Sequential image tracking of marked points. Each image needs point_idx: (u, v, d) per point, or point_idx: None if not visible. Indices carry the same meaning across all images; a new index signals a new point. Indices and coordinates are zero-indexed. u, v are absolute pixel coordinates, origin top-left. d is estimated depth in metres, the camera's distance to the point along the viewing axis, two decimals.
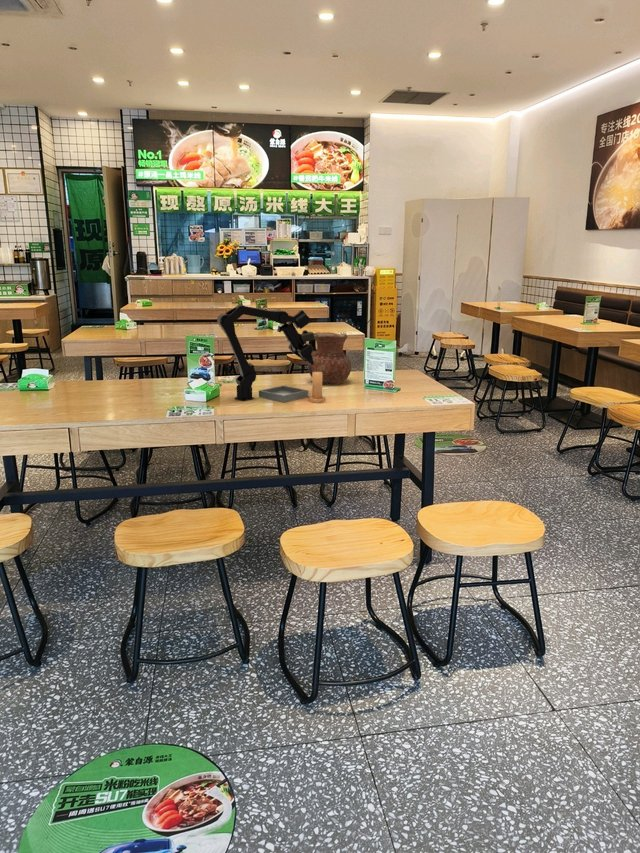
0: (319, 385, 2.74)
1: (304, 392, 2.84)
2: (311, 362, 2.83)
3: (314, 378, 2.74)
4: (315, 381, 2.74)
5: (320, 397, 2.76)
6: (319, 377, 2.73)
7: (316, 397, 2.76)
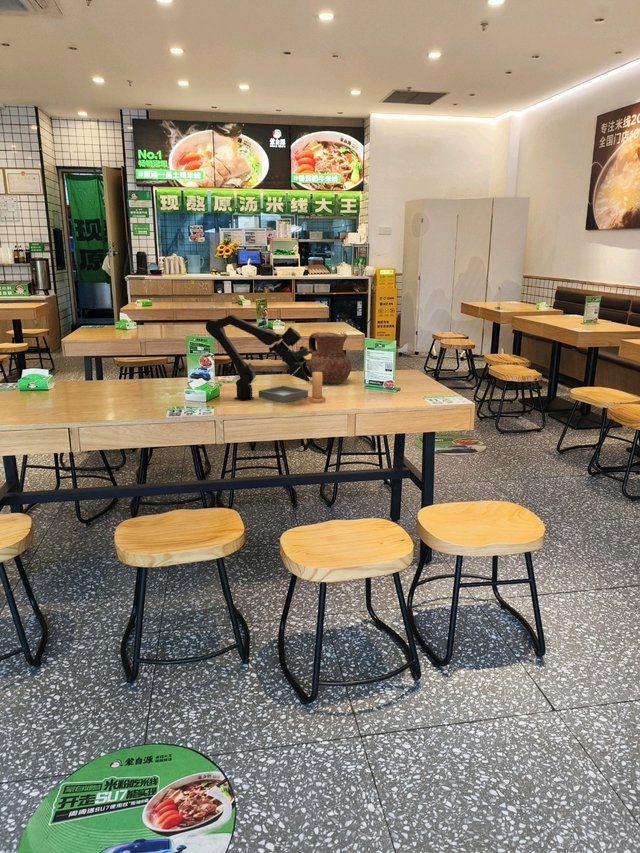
0: (319, 385, 2.74)
1: (304, 392, 2.84)
2: (306, 379, 2.71)
3: (314, 378, 2.74)
4: (315, 381, 2.74)
5: (320, 397, 2.76)
6: (319, 377, 2.73)
7: (316, 397, 2.76)
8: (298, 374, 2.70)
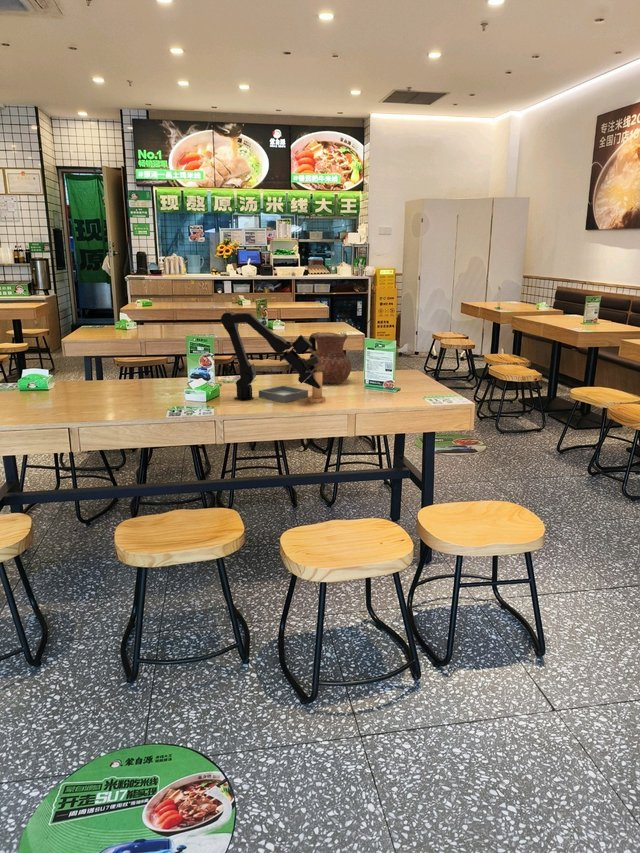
0: None
1: (304, 392, 2.84)
2: (316, 386, 2.73)
3: None
4: None
5: (320, 397, 2.76)
6: (319, 377, 2.73)
7: (316, 397, 2.76)
8: (309, 381, 2.72)
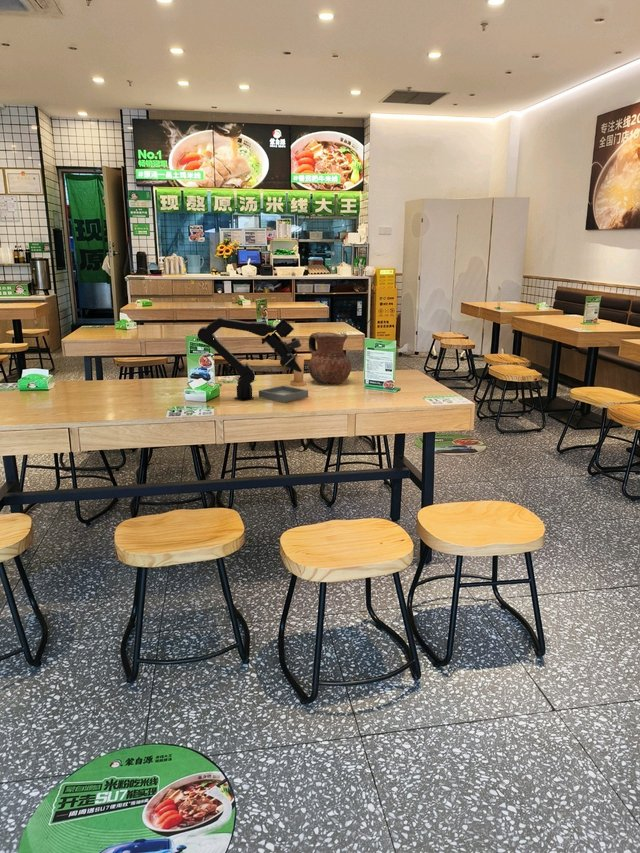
0: (301, 368, 2.77)
1: (304, 392, 2.84)
2: (298, 369, 2.76)
3: (296, 362, 2.76)
4: None
5: (301, 381, 2.78)
6: (300, 361, 2.76)
7: (297, 381, 2.78)
8: (290, 364, 2.74)
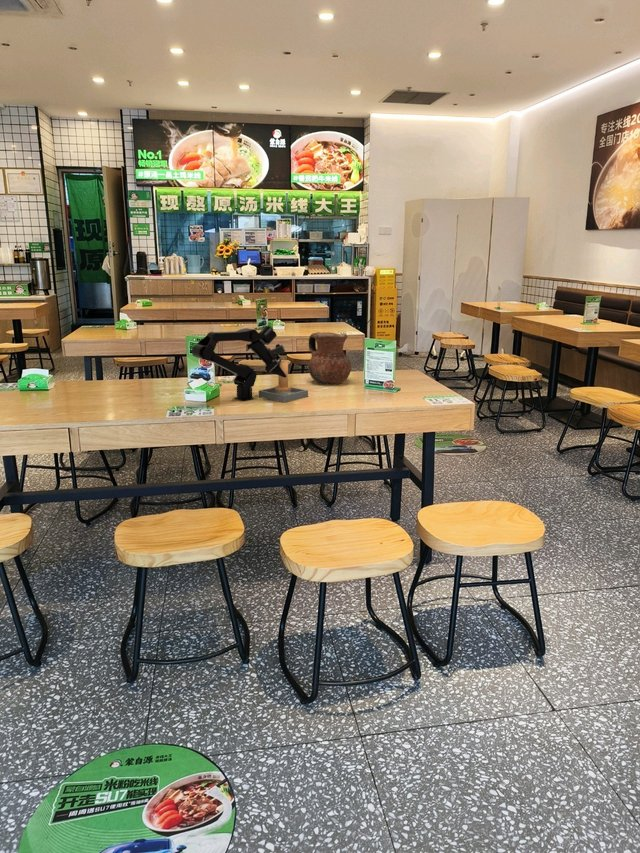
0: None
1: (304, 392, 2.84)
2: (283, 375, 2.80)
3: None
4: None
5: (286, 386, 2.83)
6: (285, 366, 2.80)
7: (282, 386, 2.83)
8: (275, 370, 2.79)
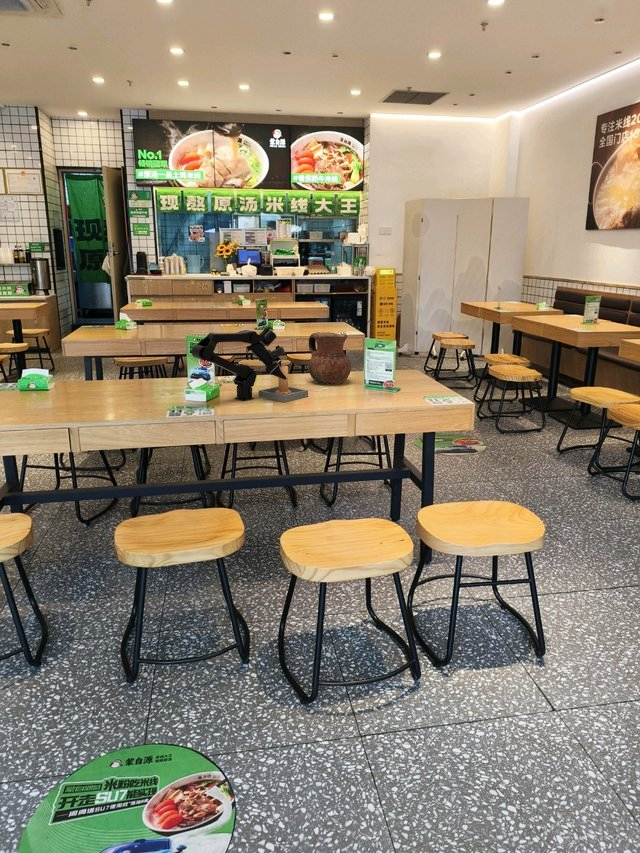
0: None
1: (304, 392, 2.84)
2: (283, 377, 2.79)
3: None
4: None
5: (286, 390, 2.84)
6: (285, 371, 2.81)
7: (282, 390, 2.83)
8: (275, 372, 2.78)
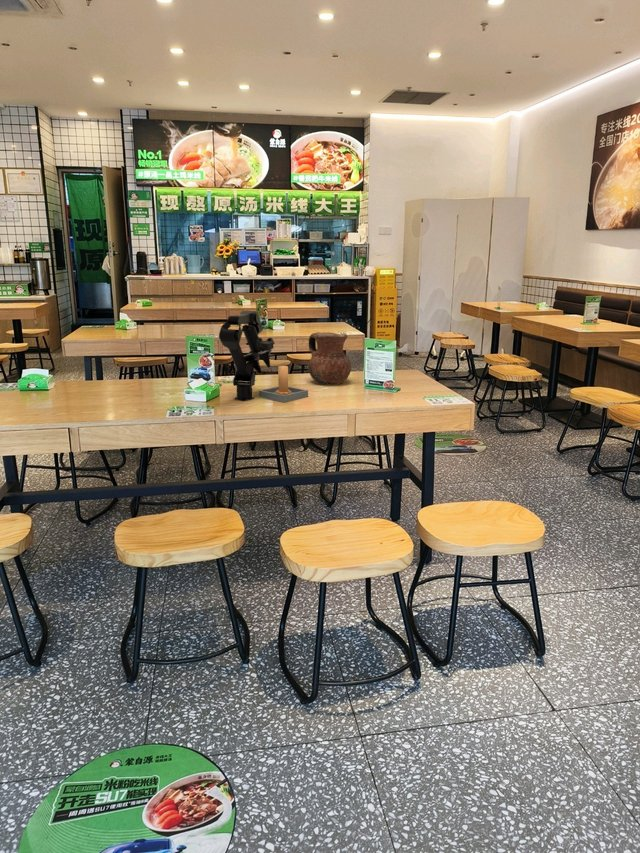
0: (285, 378, 2.82)
1: (304, 392, 2.84)
2: (258, 370, 2.83)
3: (280, 372, 2.81)
4: (281, 375, 2.81)
5: (286, 390, 2.84)
6: (285, 371, 2.81)
7: (282, 390, 2.83)
8: (253, 363, 2.81)
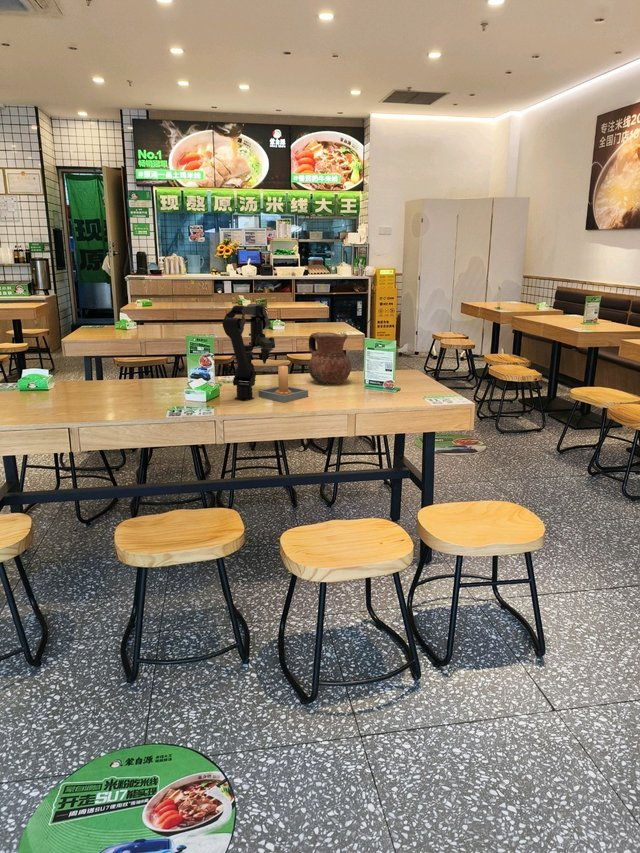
0: (285, 378, 2.82)
1: (304, 392, 2.84)
2: (248, 363, 2.88)
3: (280, 372, 2.81)
4: (281, 375, 2.81)
5: (286, 390, 2.84)
6: (285, 371, 2.81)
7: (282, 390, 2.83)
8: (246, 354, 2.87)
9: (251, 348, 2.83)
